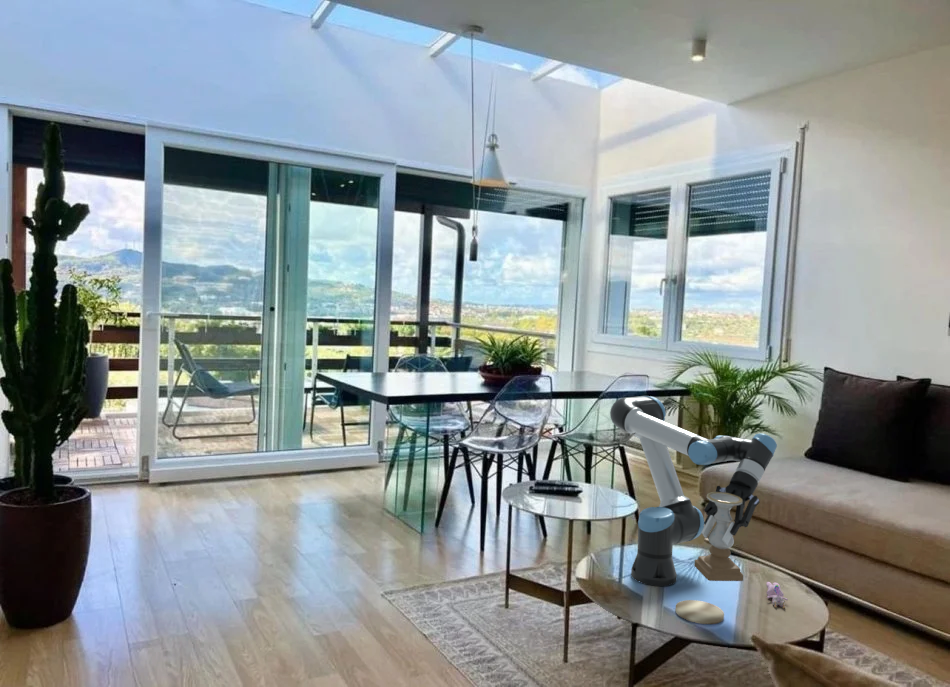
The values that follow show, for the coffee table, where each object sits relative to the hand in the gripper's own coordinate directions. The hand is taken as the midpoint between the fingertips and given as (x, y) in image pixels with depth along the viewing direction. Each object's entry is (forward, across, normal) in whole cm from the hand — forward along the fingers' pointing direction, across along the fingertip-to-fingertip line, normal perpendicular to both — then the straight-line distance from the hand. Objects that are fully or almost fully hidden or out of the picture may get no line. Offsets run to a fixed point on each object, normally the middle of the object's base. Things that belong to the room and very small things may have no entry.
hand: (714, 538), depth 203 cm
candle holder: (+6, 0, -11) cm, 12 cm away
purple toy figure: (-3, -5, -38) cm, 38 cm away
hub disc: (+18, +3, -16) cm, 24 cm away
